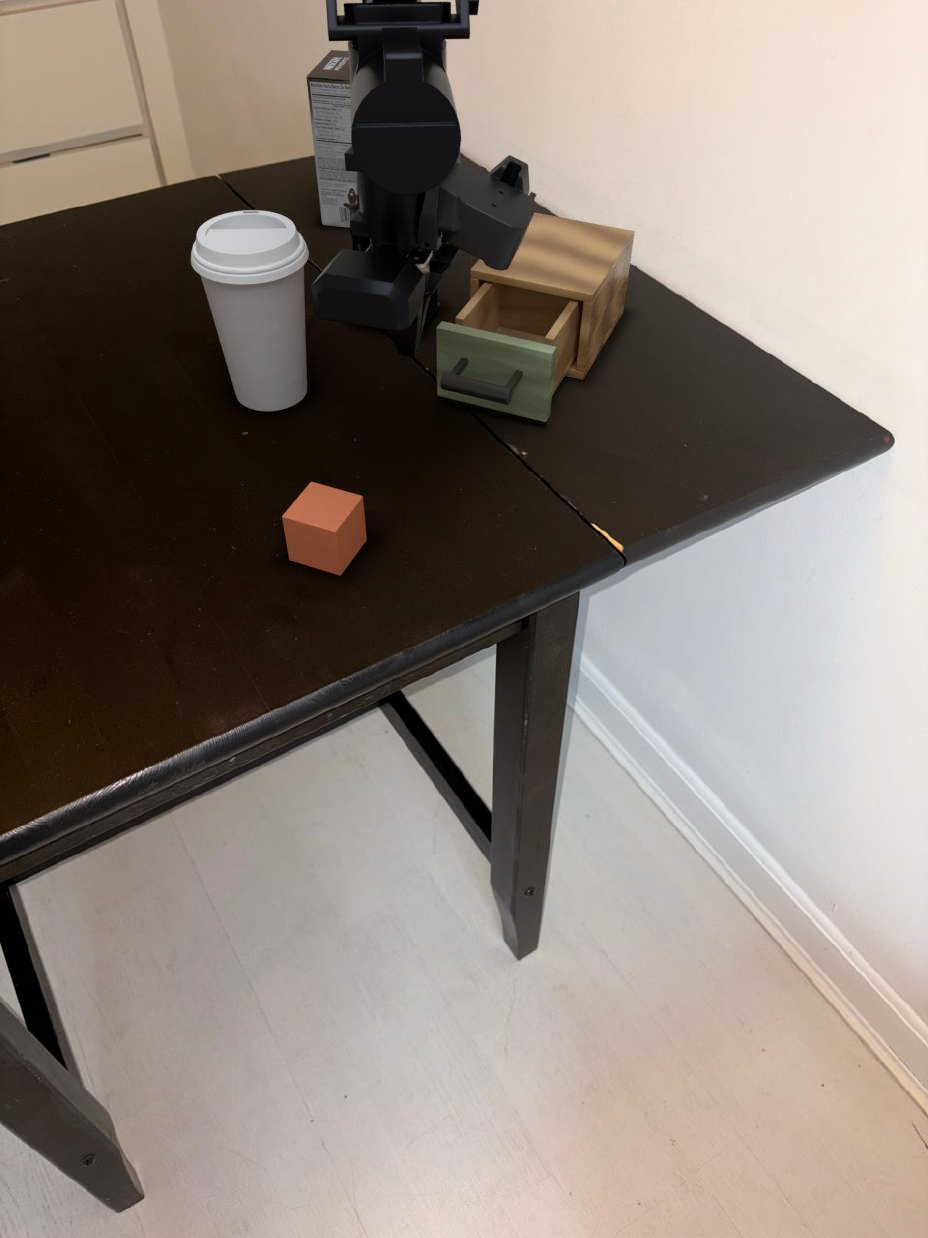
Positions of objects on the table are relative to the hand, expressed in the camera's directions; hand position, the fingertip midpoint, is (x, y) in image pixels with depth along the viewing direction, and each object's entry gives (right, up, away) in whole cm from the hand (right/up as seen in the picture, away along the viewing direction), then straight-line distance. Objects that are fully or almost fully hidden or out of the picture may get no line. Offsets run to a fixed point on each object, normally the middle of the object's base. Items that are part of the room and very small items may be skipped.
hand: (408, 353), depth 70 cm
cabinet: (+13, +9, +26) cm, 30 cm away
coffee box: (-9, +29, +44) cm, 54 cm away
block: (-6, -14, +3) cm, 16 cm away
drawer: (+8, +2, +17) cm, 19 cm away
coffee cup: (-14, +1, +18) cm, 23 cm away
